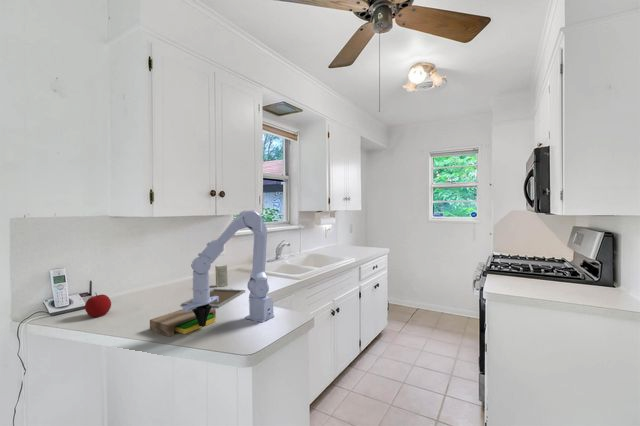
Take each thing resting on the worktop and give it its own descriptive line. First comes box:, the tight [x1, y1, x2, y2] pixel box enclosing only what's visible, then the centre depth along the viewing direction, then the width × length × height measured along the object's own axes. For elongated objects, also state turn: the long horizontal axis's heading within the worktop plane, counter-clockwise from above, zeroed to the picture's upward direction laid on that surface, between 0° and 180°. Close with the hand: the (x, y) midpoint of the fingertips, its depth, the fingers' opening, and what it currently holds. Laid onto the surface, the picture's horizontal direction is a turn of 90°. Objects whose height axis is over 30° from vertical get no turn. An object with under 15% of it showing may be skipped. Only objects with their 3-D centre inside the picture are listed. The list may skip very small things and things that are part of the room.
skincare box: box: [215, 264, 229, 288], centre depth 174 cm, size 6×4×12 cm
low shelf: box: [149, 308, 217, 337], centre depth 114 cm, size 12×20×4 cm, turn 150°
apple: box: [84, 292, 112, 318], centre depth 126 cm, size 9×9×10 cm
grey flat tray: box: [180, 288, 246, 309], centre depth 150 cm, size 19×2×30 cm
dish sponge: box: [174, 314, 216, 335], centre depth 112 cm, size 7×14×2 cm, turn 150°
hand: (202, 325), depth 109 cm, fingers closed, pressing on dish sponge
